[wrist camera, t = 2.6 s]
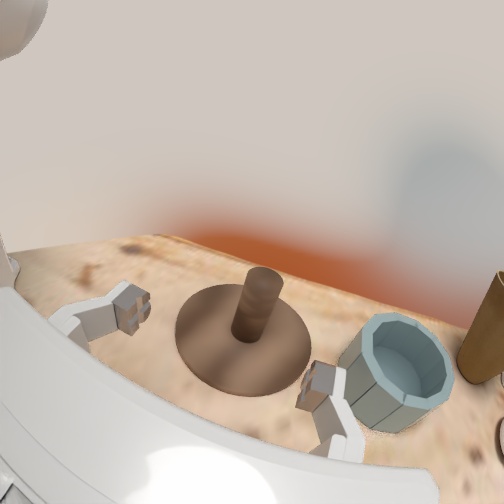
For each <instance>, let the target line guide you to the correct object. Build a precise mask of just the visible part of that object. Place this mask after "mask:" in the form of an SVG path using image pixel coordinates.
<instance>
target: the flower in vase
mask: <svg viewBox="0 0 504 504" xmlns="http://www.w3.org/2000/svg"><path fill="white" fill-rule="evenodd" d="M500 443H501V448H502V452H503V454H504V419H503V421H502V423H501V428H500Z"/></svg>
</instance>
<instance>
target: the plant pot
mask: <svg viewBox="0 0 504 504" xmlns="http://www.w3.org/2000/svg"><path fill="white" fill-rule="evenodd" d="M457 364H458V367H459V370H460V372H461V373H462V375H463V376H464V377H465V378H466V379H467V380H468V381H469V382H471V383H473V384H479V383H481V382H484V381H486V380H488V379H490V378H492V377H494V376H496V375H498V374H500V373H502V372H504V271H502V270H498V271H497V273H496V275H495V277H494V279H493V281H492V283H491V285H490V288H489V290H488V292H487V294H486V296H485V298H484V300H483V302H482V304H481V306H480V308H479V310H478V312H477V314H476V316H475V319H474V321H473V323H472V325H471V327H470V329H469V331H468V333H467V336H466V338H465V340H464V342H463V345H462V347H461V349H460V351H459V354H458V356H457Z"/></svg>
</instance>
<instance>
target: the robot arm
mask: <svg viewBox="0 0 504 504" xmlns="http://www.w3.org/2000/svg"><path fill="white" fill-rule="evenodd" d="M47 6H48V0H0V61H1V60H4V59H6V58H8V57H11V56H13V55H16V54H18V53H19V52H21V50H23V49H24V48H25V47H26V45H27V44H28V43H29V42H30V41H31V40H32V38H33V37H34V35H35V34H36V32H37V31H38V29H39V27H40V25H41V24H42V21H43V19H44V17H45V14H46V10H47ZM19 271H20V265H19V263H18V261H17V260H15V259H13V258H11V257H9V256H8V255H7V253H6V250H5V247H4V244H3V241H2V238H1V235H0V504H439V501H440V491H439V488H438V486H437V484H436V482H435V480H434V478H433V477H432V475H431V474H430V472H429V471H428V470H427V469H425V468H408V467H391V466H380V465H371V464H363V456H364V449H365V440H366V439H365V437H364V435H363V433H362V431H361V429H360V427H359V425H358V423H357V421H356V419H355V417H354V415H353V412H352V410H351V408H350V406H349V404H348V402H347V400H345V399H344V390H345V381H346V369H343V368H340V367H336V366H334V365H330V364H327V363H324V362H320V361H317V360H315V361H313V363H312V364H311V369H309V370H307V372H306V374H305V376H304V378H303V380H302V383H301V387H300V388H301V393H300V394H299V395H298V398H297V402H296V406H295V408H298V409H301V410H305V411H308V412H311V413H312V416H313V419H314V423H315V426H316V429H317V432H318V436H319V439H320V442H321V444H320V445H319V446H317V447H316V448H314V449H313V450H311V451H310V452H309V453H304V452H300V451H296V450H293V449H289V448H285V447H282V446H278V445H275V444H272V443H268V442H265V441H262V440H259V439H256V438H253V437H250V436H247V435H245V434H242V433H239V432H236V431H234V430H231V429H229V428H226V427H223V426H221V425H218V424H216V423H214V422H211V421H209V420H207V419H204V418H202V417H200V416H198V415H195V414H193V413H191V412H189V411H187V410H185V409H183V408H181V407H178V406H176V405H174V404H172V403H170V402H169V401H167V400H165V399H163V398H161V397H159V396H157V395H155V394H153V393H152V392H150V391H148V390H146V389H144V388H143V387H141V386H139V385H138V384H136V383H134V382H132V381H131V380H129V379H128V378H126V377H124V376H123V375H121V374H119V373H118V372H116V371H115V370H113V369H112V368H110V367H109V366H107V365H106V364H104V363H103V362H101V361H100V360H98V359H97V358H95V357H94V356H93V355H91V354H90V353H91V349H90V346H89V344H88V342H90V341H92V340H95V339H97V338H99V337H102V336H104V335H107V334H109V333H112V332H114V331H117V330H118V329H119V330H121V331H123V332H124V333H126V334H128V335H130V336H132V335H133V334H134V333H135V332H136V331H137V330H138V328H139V323H143V322H145V320H146V319H147V318H148V316H149V314H150V310H151V305H150V303H149V302H148V300H149V299H150V293H148V292H146V291H145V290H143V289H141V288H139V287H137V286H135V285H133V284H131V283H130V282H128V281H126V280H123V281H121V282H120V283H119V284H118V285H117V286H116V287H114V288H113V289H112V290H111V291H110V292H109V293H108V294H107V295H105V296H104V297H97V298H93V299H89V300H84V301H80V302H76V303H72V304H68V305H64V306H62V307H61V308H59V309H58V310H57V311H56V312H55V313H54V314H53V315H52V316H50V317H49V318H48V319H45V318H44V317H43V316H42V315H41V314H40V313H39V312H38V311H37V310H35V309H34V308H33V307H32V306H31V305H30V304H29V303H28V302H27V301H26V300H25V299H24V298H23V297H22V296H21V295H20V294H19V293H18V292H17V291H16V290H15V289H14V283H15V279H16V277H17V275H18V273H19Z"/></svg>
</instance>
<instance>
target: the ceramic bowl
mask: <svg viewBox="0 0 504 504" xmlns="http://www.w3.org/2000/svg"><path fill="white" fill-rule="evenodd" d="M338 367H340V368H343V369H346V381H345V390H344V399H345V400H347V402H348V404H349V406H350V408H351V410H352V412H353V415H354V416H355V417H356V418H357V419H359V420H360V421H361V422H362V423H363V424H365V425H366V426H367V427H368V428H370V429H373V430H378V431H383V432H389V433H398V432H400V431H402V430H404V429H406V428H408V427H410V426H412V425H414V424H416V423H417V422H419V421H420V420H422V419H423V418H424V417H426V416H427V415H429V414H430V413H431V412H433V411H434V410H435V409H437V408H438V407H439V406H441V405H442V404H443V403H444V402H446V401H447V400H448V399H449V396H450V393H451V390H452V387H453V384H454V374H453V369H452V364H451V360H450V356H449V355H448V353H447V352H446V350H445V349H444V347H443V346H442V344H441V343H440V341H439V340H438V338H437V337H436V336H435V335H434V334H433V333H432V332H430V331H429V330H428V329H427V328H426V327H424V326H423V325H422V324H421V323H419V322H418V321H417V320H414V319H411V318H409V317H406V316H403V315H401V314H398V313H395V312H394V313H383V314H375V315H374V316H373V317H372V318H371V319H370V320H369V321H368V322H367V323H366V324H365V325H364V326H363V327H362V329H361V330H360V332H359V333H358V334H357V336H356V337H355V338H354V340H353V341H352V342H351V344H350V345H349V346H348V348H347V349H346V350H345V352H344V353H343V354H342V356H341V357H340V358H339V362H338Z"/></svg>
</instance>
